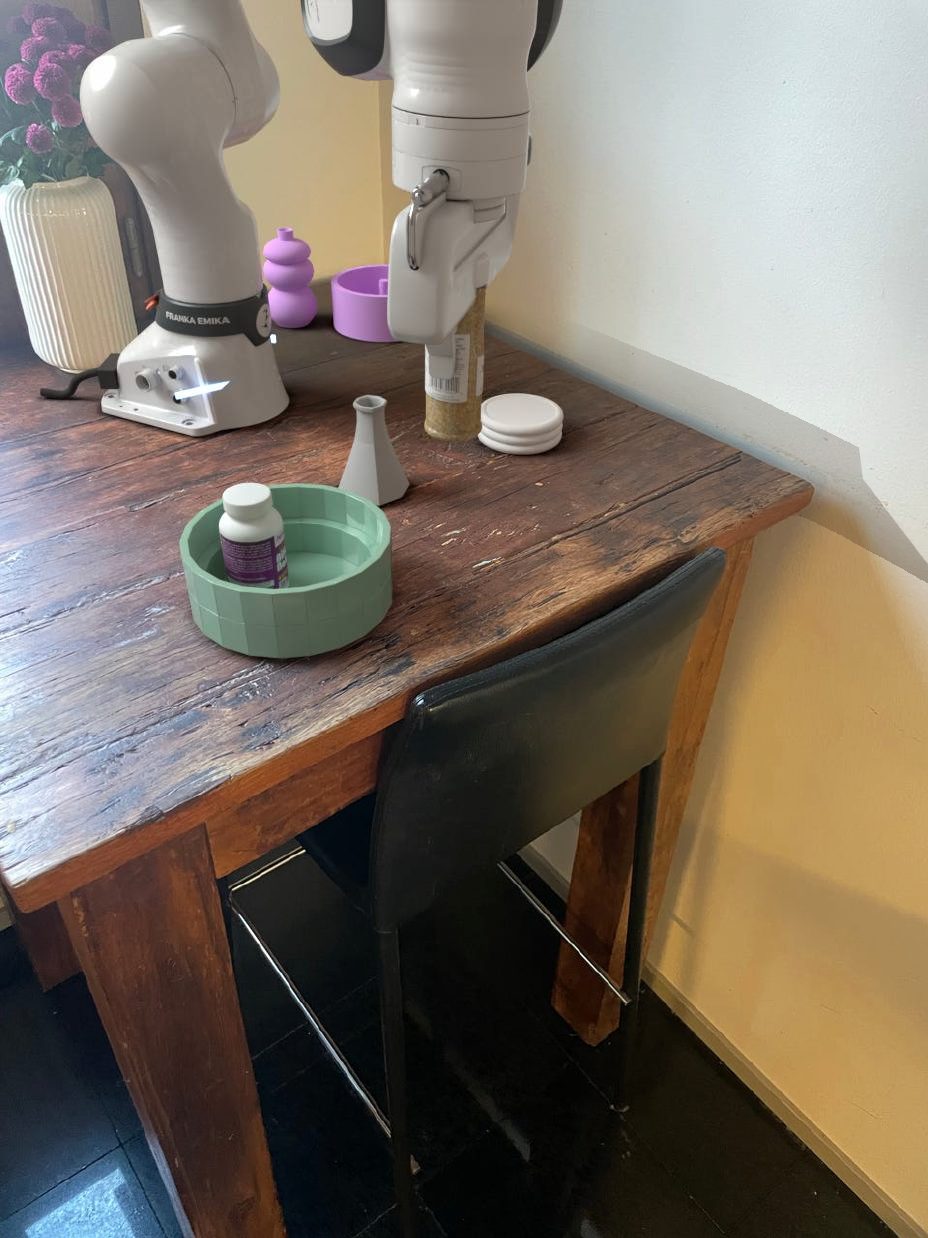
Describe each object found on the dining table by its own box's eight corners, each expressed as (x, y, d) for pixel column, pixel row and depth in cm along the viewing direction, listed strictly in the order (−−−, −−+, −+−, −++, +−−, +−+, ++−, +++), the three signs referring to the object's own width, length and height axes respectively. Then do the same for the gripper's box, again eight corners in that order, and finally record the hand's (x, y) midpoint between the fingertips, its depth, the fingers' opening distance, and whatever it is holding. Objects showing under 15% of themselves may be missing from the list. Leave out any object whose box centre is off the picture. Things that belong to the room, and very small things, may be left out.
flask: (381, 514, 95) (377, 423, 89) (325, 494, 98) (318, 405, 92) (421, 485, 100) (420, 397, 94) (366, 467, 103) (362, 381, 97)
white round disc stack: (488, 414, 115) (489, 387, 113) (568, 425, 113) (571, 397, 110) (466, 449, 107) (467, 420, 105) (552, 461, 105) (554, 433, 103)
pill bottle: (296, 599, 82) (286, 503, 76) (235, 612, 80) (220, 514, 74) (282, 567, 86) (271, 473, 80) (224, 578, 84) (208, 483, 78)
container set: (436, 307, 146) (436, 217, 138) (436, 342, 134) (436, 246, 126) (275, 305, 145) (266, 215, 137) (260, 340, 133) (249, 244, 125)
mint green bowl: (154, 642, 78) (138, 572, 73) (247, 535, 91) (238, 471, 87) (351, 681, 74) (346, 610, 70) (417, 564, 88) (417, 498, 84)
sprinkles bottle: (493, 430, 73) (503, 252, 65) (455, 450, 70) (460, 266, 62) (449, 412, 75) (454, 238, 67) (410, 430, 72) (410, 251, 64)
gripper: (464, 197, 52) (457, 425, 61) (538, 133, 68) (524, 321, 76) (358, 186, 53) (365, 411, 62) (454, 126, 69) (450, 311, 78)
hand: (453, 360), depth 69 cm, fingers closed on sprinkles bottle, 4 cm apart
